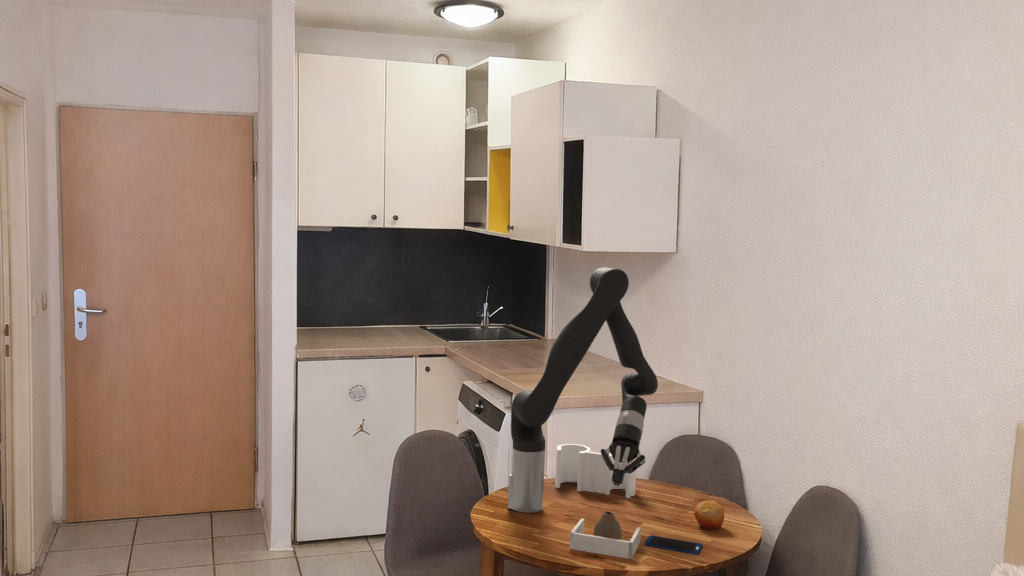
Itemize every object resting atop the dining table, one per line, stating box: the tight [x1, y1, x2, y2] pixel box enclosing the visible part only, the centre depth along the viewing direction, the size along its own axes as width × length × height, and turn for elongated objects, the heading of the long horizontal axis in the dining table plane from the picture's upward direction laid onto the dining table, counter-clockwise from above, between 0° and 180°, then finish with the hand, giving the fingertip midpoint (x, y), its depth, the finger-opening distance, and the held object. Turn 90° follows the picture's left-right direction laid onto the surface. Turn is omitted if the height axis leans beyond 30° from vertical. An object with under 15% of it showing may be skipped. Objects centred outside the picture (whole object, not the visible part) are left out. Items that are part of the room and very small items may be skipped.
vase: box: [593, 511, 623, 540], centre depth 206 cm, size 7×7×9 cm
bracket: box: [554, 443, 637, 499], centre depth 254 cm, size 25×10×12 cm, turn 69°
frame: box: [568, 518, 642, 560], centre depth 207 cm, size 16×12×4 cm
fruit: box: [693, 500, 725, 530], centre depth 225 cm, size 8×8×8 cm
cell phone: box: [643, 535, 703, 556], centre depth 210 cm, size 7×14×1 cm, turn 68°
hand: (616, 483), depth 221 cm, fingers closed
